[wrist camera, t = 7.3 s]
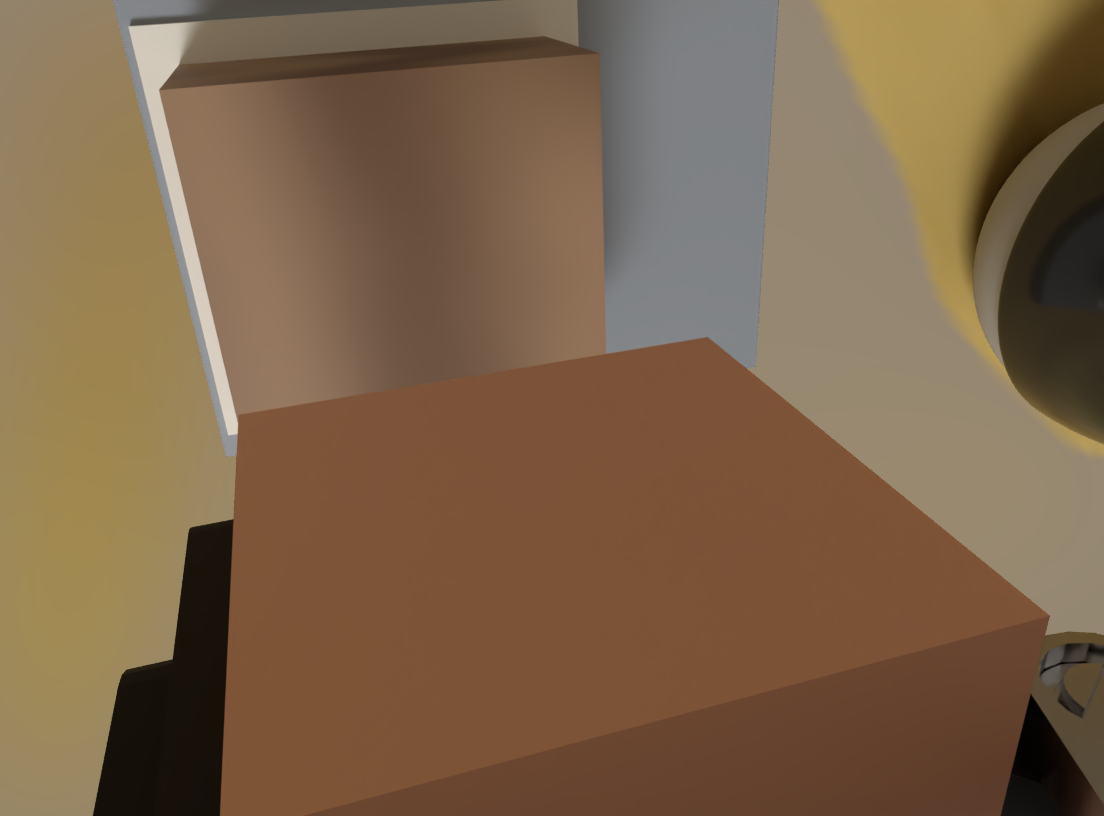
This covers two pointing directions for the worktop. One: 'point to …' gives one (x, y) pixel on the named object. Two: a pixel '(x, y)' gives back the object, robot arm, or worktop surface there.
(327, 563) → the top cube
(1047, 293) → the black penguin toy
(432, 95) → the base block
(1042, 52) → the worktop surface
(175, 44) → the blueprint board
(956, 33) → the worktop surface
